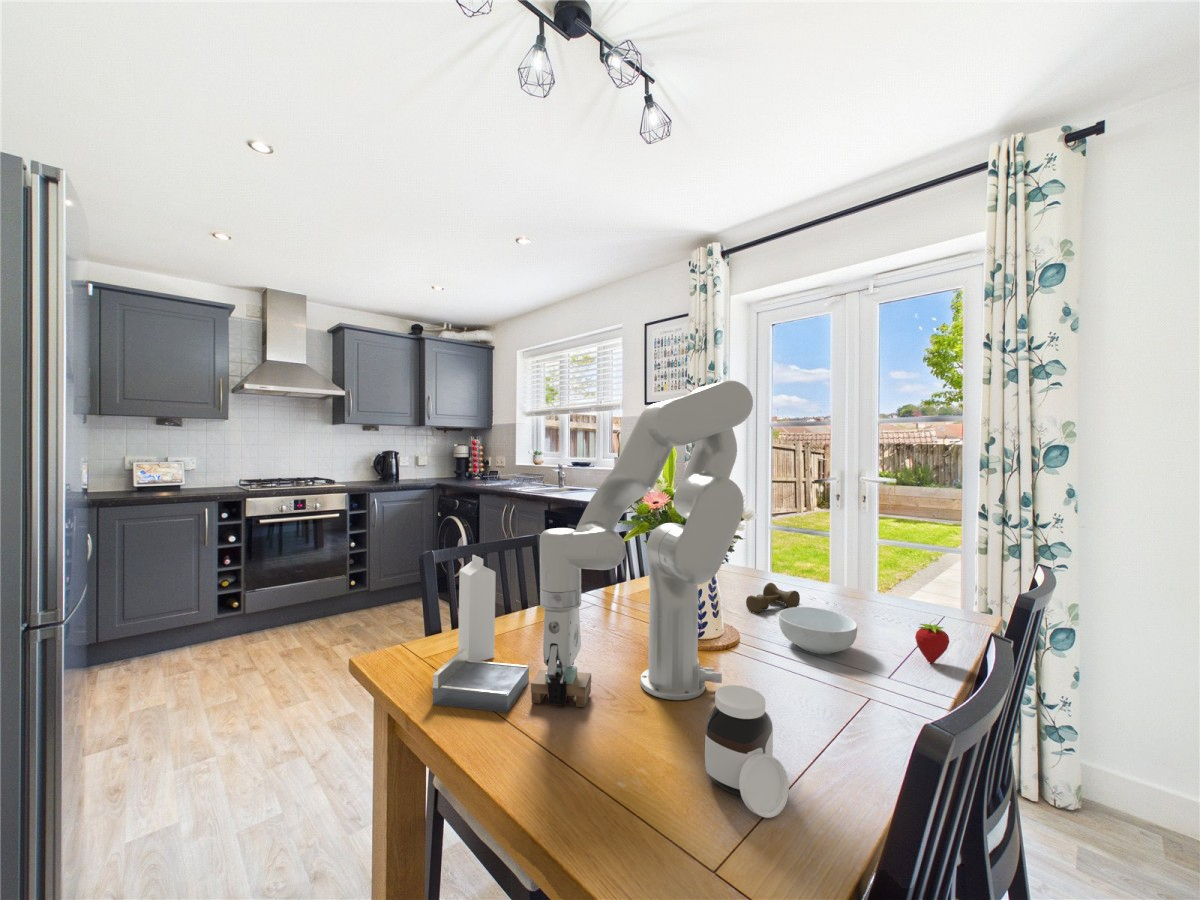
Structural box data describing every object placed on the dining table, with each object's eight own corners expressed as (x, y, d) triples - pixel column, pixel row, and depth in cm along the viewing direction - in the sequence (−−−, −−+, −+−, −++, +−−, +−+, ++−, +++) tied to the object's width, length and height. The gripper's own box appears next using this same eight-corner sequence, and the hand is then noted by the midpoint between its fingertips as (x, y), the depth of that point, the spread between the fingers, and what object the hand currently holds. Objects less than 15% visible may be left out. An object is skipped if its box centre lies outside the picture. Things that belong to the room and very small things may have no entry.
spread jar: (730, 752, 76) (731, 676, 76) (805, 785, 69) (806, 701, 69) (688, 791, 67) (690, 705, 67) (770, 835, 60) (772, 738, 60)
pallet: (591, 691, 93) (591, 673, 93) (585, 707, 88) (585, 687, 88) (539, 687, 95) (539, 669, 95) (531, 702, 89) (530, 683, 89)
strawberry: (955, 664, 109) (956, 619, 109) (937, 672, 105) (938, 624, 105) (926, 654, 114) (927, 611, 114) (908, 661, 110) (909, 616, 110)
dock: (528, 681, 98) (529, 653, 98) (507, 712, 86) (507, 681, 86) (462, 674, 101) (462, 648, 101) (432, 704, 89) (432, 674, 89)
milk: (468, 664, 106) (469, 561, 105) (457, 655, 110) (458, 555, 110) (495, 657, 109) (496, 557, 109) (483, 648, 114) (484, 552, 114)
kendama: (738, 610, 146) (780, 597, 157) (765, 620, 138) (808, 606, 150) (738, 590, 146) (780, 578, 157) (766, 599, 138) (808, 586, 149)
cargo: (577, 674, 93) (577, 666, 93) (572, 684, 89) (572, 675, 89) (551, 672, 94) (551, 664, 94) (545, 682, 90) (545, 674, 90)
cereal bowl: (778, 656, 112) (779, 624, 112) (777, 631, 128) (778, 603, 128) (862, 667, 107) (863, 634, 107) (850, 640, 123) (851, 611, 123)
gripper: (569, 613, 82) (571, 722, 82) (589, 584, 99) (590, 675, 99) (526, 611, 83) (527, 718, 84) (553, 583, 100) (554, 672, 100)
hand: (561, 694), depth 91 cm, fingers closed on pallet, 5 cm apart
